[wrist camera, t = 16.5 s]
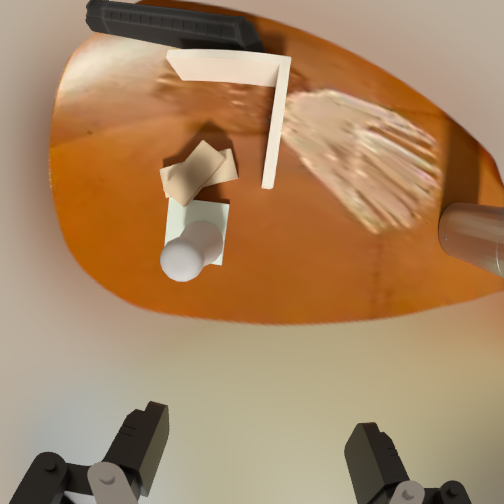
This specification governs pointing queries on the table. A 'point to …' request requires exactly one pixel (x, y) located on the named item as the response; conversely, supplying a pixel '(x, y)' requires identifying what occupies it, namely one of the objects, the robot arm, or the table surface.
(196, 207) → the tile
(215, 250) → the salt shaker
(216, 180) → the block
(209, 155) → the offcut short
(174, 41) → the magazine
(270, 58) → the bracket
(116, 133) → the table surface
